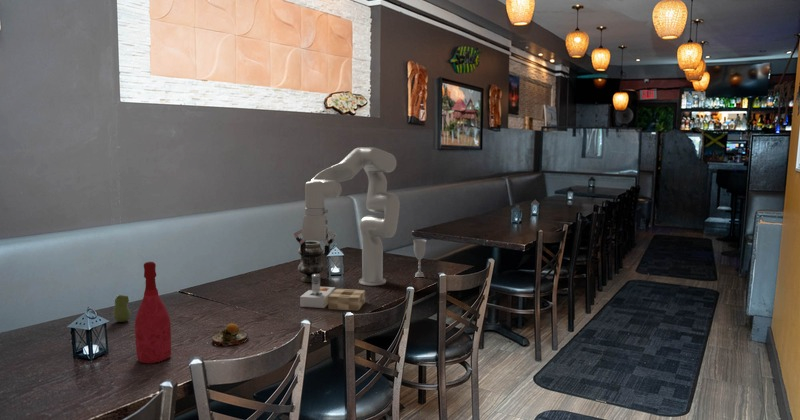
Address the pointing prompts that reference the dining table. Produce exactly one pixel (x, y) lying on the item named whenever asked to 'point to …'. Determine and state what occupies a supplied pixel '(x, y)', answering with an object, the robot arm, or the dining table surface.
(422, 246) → the chalice
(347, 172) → the robot arm
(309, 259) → the apothecary jar
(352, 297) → the block
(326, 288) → the release plunger
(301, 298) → the socket block
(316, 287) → the drill bit
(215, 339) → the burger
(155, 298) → the wine bottle
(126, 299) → the pear
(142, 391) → the dining table surface
